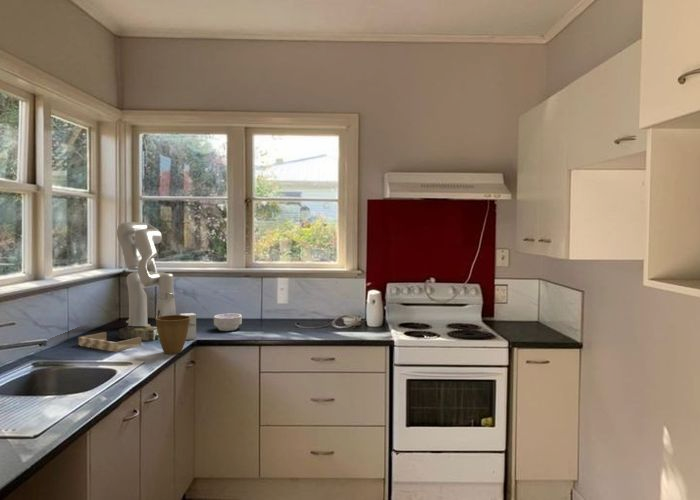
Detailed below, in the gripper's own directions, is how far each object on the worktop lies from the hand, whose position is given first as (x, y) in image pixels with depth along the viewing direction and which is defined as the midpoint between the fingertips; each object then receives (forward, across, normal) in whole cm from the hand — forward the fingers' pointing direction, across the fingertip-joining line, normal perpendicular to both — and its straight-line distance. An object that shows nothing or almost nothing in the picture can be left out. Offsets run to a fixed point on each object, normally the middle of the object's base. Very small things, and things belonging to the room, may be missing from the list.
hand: (166, 330), depth 274 cm
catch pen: (+1, +34, 0) cm, 34 cm away
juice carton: (+2, +16, -1) cm, 16 cm away
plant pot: (+2, +30, +37) cm, 48 cm away
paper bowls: (+2, -22, +23) cm, 32 cm away
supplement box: (+2, +6, +21) cm, 22 cm away
